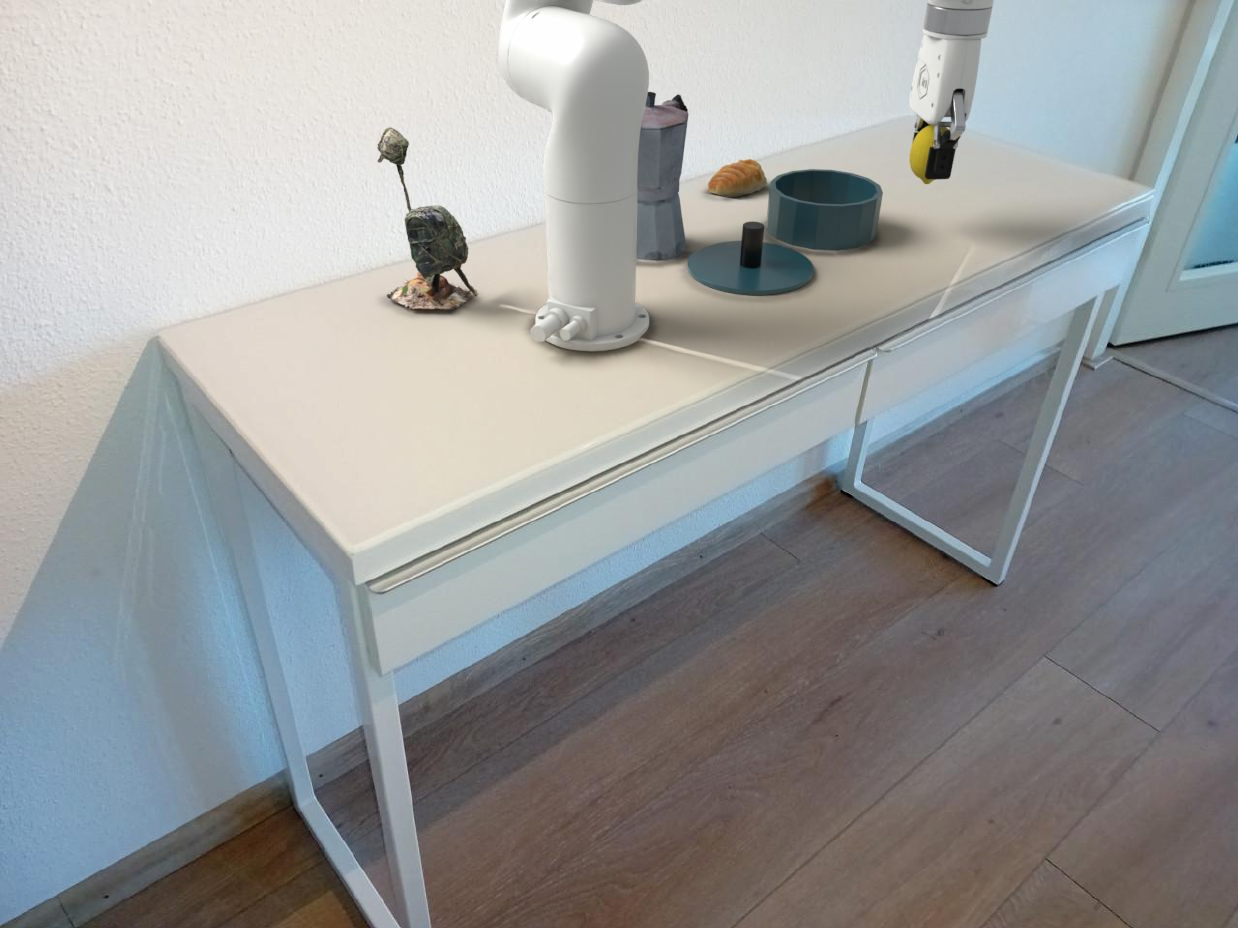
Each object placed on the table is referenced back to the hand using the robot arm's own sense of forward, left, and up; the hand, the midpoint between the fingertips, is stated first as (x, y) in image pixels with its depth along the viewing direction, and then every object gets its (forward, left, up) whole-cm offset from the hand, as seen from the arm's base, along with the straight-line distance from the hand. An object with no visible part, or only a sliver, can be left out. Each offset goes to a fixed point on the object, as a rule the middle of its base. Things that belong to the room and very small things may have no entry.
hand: (929, 169), depth 128 cm
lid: (-24, +15, -8) cm, 29 cm away
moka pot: (-23, +29, -9) cm, 38 cm away
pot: (-7, +12, -8) cm, 16 cm away
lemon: (0, 0, -2) cm, 2 cm away
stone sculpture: (-49, +44, -9) cm, 66 cm away
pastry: (+4, +28, -9) cm, 30 cm away
